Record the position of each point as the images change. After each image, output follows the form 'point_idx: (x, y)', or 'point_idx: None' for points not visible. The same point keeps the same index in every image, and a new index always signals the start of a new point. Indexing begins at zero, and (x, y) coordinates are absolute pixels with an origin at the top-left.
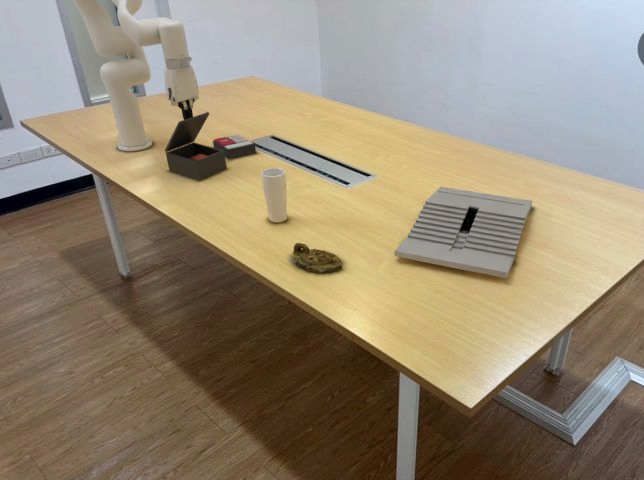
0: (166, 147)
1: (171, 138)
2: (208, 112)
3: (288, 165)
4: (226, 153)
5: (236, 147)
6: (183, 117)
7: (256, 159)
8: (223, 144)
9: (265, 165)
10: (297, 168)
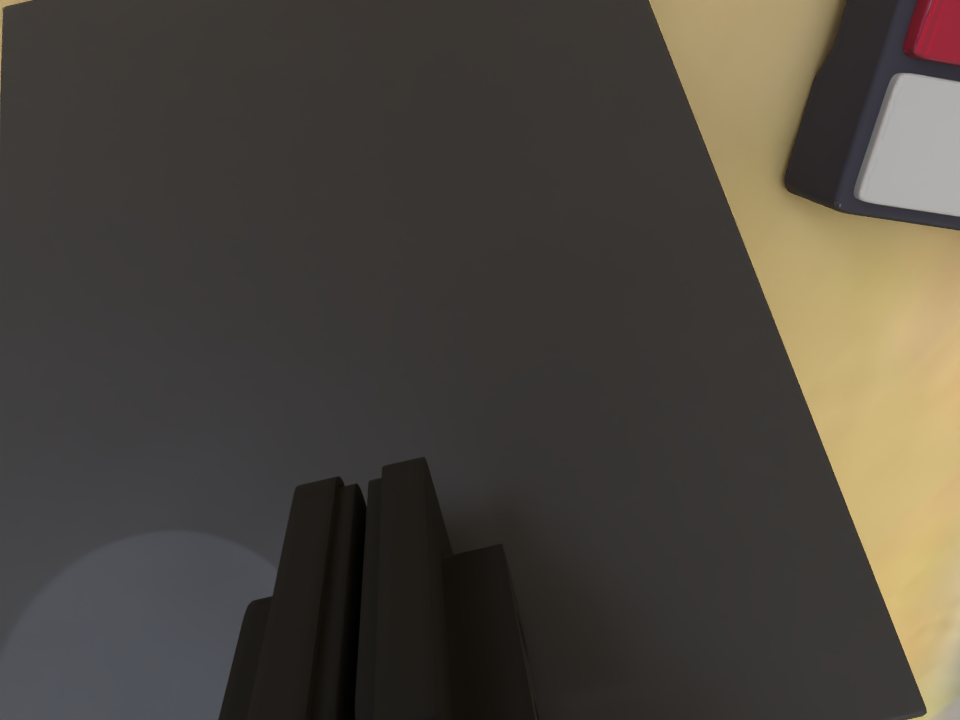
0: (5, 86)
1: (4, 335)
2: (919, 713)
3: (956, 601)
4: (821, 141)
5: (944, 213)
6: (255, 618)
7: (927, 355)
8: (932, 20)
9: (863, 505)
10: (942, 670)
